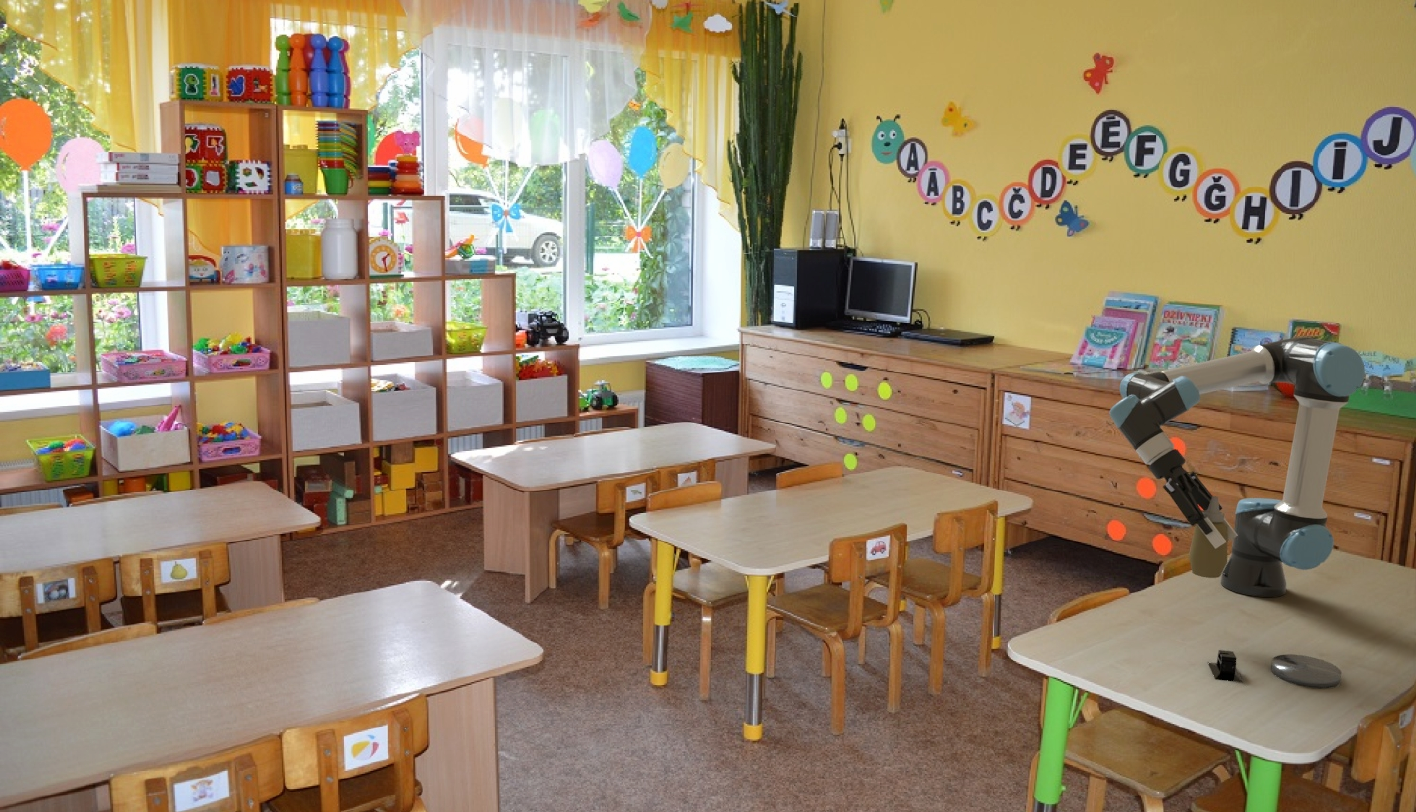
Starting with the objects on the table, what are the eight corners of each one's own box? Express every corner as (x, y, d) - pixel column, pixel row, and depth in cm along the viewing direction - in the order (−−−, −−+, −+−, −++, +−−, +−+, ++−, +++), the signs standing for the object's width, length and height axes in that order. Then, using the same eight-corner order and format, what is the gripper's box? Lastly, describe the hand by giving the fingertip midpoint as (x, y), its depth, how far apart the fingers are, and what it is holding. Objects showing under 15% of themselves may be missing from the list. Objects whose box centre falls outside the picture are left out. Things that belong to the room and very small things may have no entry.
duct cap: (1289, 658, 260) (1291, 649, 259) (1351, 679, 250) (1353, 670, 249) (1258, 672, 252) (1260, 662, 251) (1321, 693, 242) (1322, 684, 241)
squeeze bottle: (1219, 570, 274) (1228, 493, 271) (1230, 581, 266) (1239, 502, 263) (1182, 567, 275) (1190, 491, 271) (1192, 579, 267) (1201, 500, 264)
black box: (1202, 661, 258) (1204, 641, 257) (1238, 665, 256) (1241, 645, 256) (1212, 684, 246) (1214, 663, 245) (1250, 688, 245) (1253, 667, 244)
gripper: (1165, 460, 284) (1228, 542, 276) (1131, 472, 269) (1196, 559, 262) (1190, 441, 279) (1255, 524, 271) (1157, 453, 265) (1224, 541, 257)
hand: (1226, 541), depth 267 cm, fingers closed on squeeze bottle, 6 cm apart
